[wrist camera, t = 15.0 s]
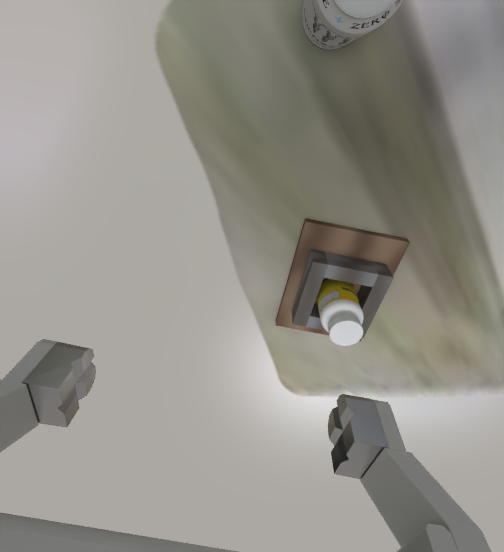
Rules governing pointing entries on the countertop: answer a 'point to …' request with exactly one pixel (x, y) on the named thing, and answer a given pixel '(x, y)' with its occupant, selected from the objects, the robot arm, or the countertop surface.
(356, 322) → the supplement bottle
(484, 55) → the countertop surface
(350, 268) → the socket block
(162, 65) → the countertop surface
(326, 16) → the energy drink can
